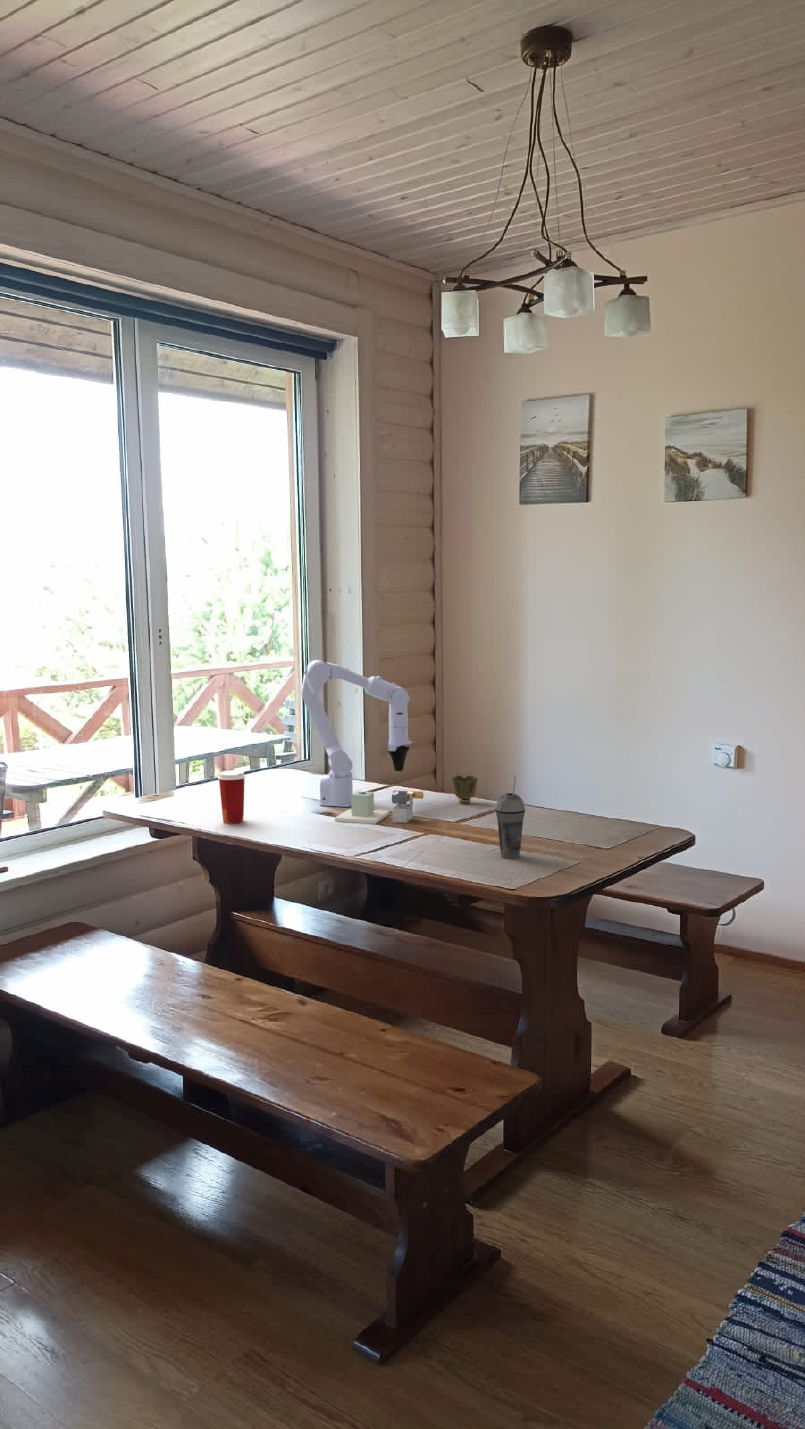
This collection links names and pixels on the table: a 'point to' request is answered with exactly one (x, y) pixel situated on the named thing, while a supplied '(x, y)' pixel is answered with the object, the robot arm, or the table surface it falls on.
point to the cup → (464, 788)
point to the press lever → (405, 796)
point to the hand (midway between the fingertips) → (399, 770)
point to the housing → (362, 803)
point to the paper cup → (232, 796)
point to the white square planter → (403, 812)
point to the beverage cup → (510, 823)
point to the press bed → (371, 819)
